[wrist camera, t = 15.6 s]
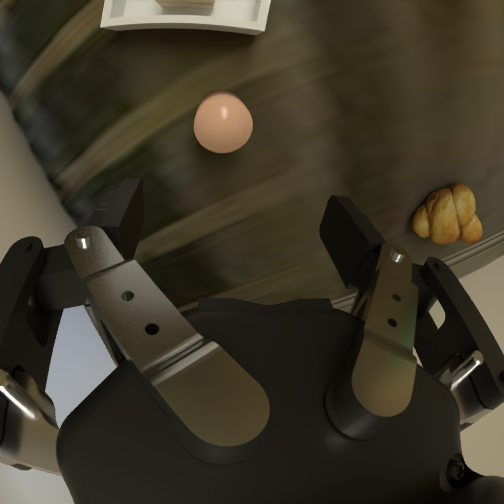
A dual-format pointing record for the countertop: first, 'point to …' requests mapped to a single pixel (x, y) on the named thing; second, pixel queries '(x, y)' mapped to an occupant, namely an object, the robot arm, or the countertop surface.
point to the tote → (187, 16)
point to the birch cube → (187, 4)
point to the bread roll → (448, 216)
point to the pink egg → (222, 122)
